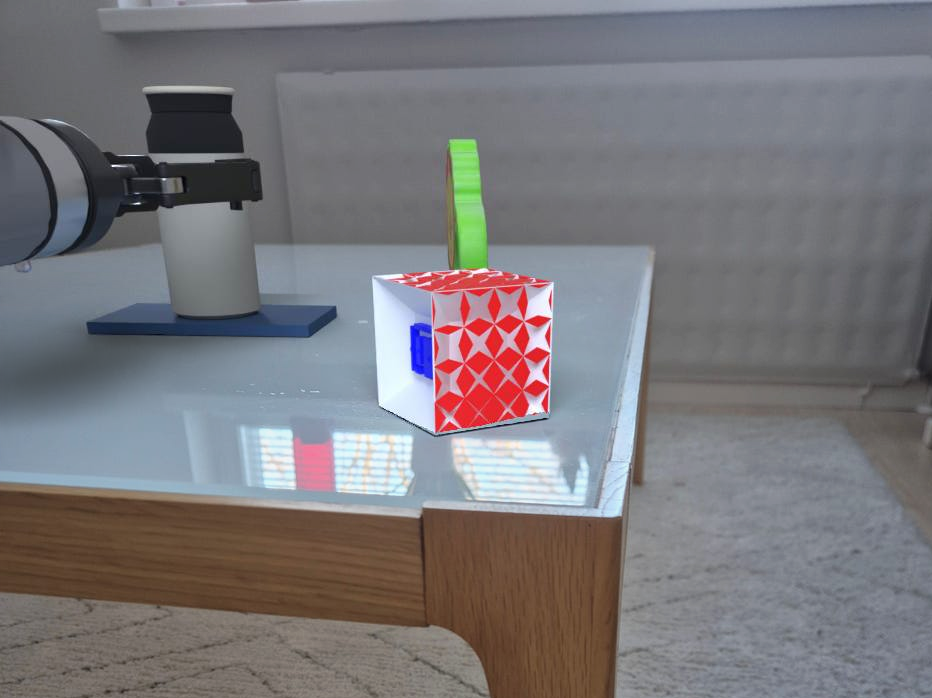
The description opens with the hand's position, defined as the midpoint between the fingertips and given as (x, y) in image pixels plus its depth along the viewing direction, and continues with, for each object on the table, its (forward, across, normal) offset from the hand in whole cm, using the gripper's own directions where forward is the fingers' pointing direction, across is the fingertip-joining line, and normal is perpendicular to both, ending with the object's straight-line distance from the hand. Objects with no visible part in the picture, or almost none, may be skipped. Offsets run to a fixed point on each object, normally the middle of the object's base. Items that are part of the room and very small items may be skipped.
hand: (165, 177), depth 75 cm
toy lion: (-1, +24, -13) cm, 27 cm away
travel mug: (+7, 0, -12) cm, 14 cm away
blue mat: (+7, 0, -12) cm, 14 cm away
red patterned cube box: (-23, +26, -13) cm, 37 cm away
